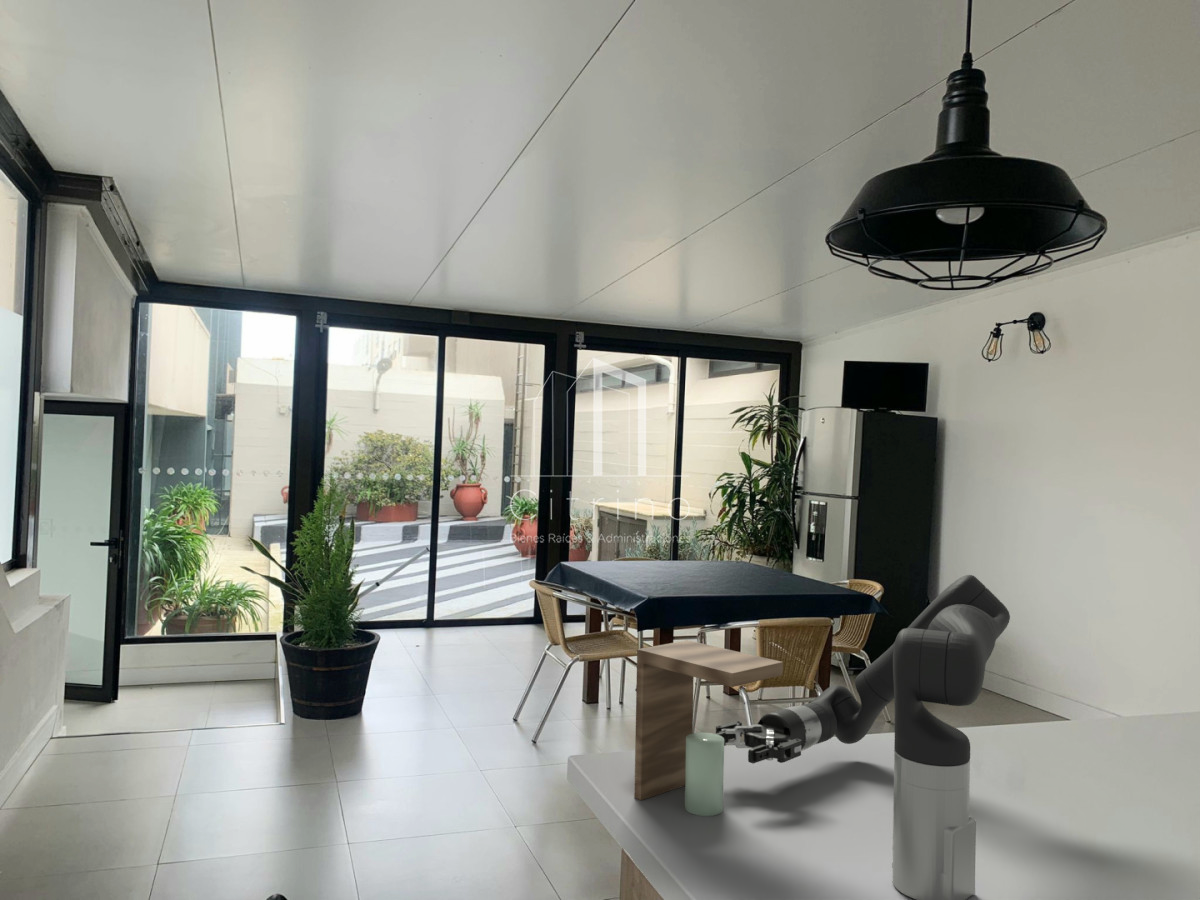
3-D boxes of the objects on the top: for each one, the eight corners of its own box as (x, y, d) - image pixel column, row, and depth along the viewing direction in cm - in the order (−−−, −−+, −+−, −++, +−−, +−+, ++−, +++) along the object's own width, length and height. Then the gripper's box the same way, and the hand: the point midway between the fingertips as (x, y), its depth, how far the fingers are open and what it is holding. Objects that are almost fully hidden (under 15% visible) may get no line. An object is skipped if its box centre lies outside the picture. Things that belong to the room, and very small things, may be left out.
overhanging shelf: (780, 818, 135) (783, 661, 135) (729, 839, 127) (732, 673, 127) (685, 780, 150) (687, 640, 150) (634, 797, 142) (637, 649, 142)
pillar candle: (730, 809, 138) (732, 739, 138) (705, 819, 134) (706, 747, 134) (702, 797, 143) (703, 730, 143) (676, 807, 139) (678, 737, 139)
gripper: (757, 700, 159) (697, 716, 148) (824, 718, 148) (764, 737, 137) (756, 741, 158) (696, 761, 148) (824, 763, 148) (764, 785, 137)
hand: (729, 749), depth 142 cm, fingers open, 8 cm apart
